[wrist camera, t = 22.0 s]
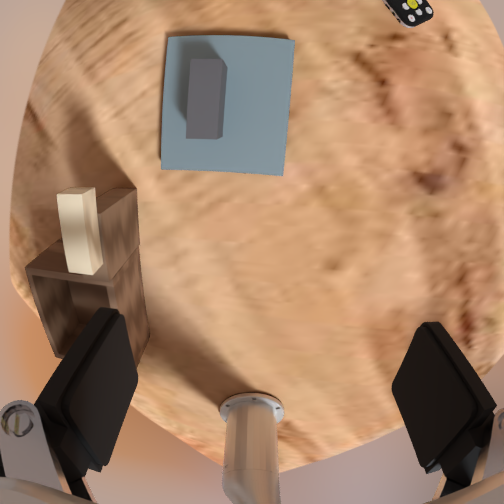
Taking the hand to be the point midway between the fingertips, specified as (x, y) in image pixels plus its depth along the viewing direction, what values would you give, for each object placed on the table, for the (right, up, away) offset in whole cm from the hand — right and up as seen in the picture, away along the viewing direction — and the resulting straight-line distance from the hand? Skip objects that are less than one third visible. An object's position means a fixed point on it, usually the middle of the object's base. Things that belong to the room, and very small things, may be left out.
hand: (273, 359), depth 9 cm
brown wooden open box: (-23, +1, +32) cm, 39 cm away
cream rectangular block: (-17, +6, +18) cm, 25 cm away
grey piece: (-4, +20, +22) cm, 30 cm away
